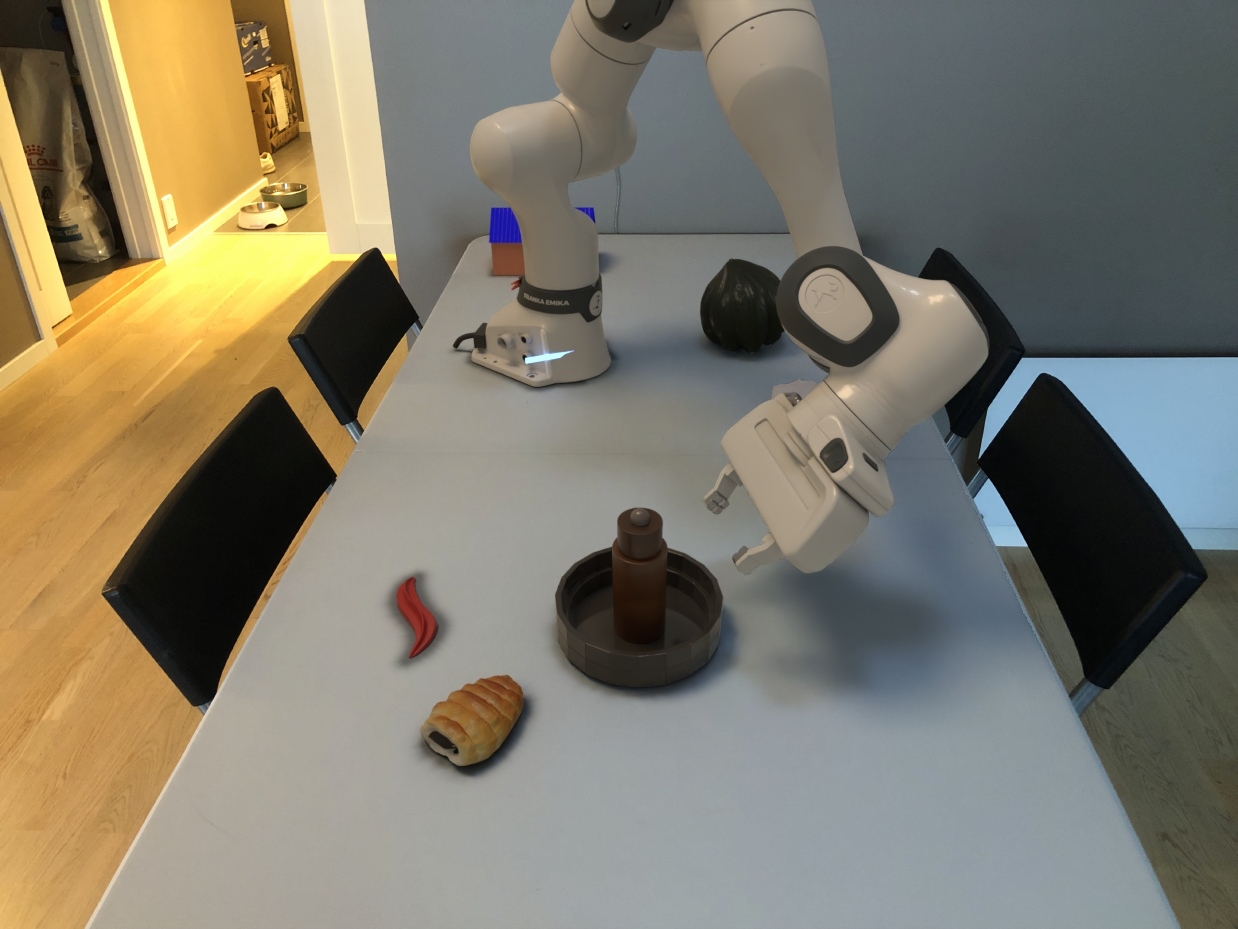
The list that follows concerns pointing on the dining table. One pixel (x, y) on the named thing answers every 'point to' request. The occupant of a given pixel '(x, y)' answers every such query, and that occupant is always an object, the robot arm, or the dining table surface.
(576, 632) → the pan
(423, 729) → the pastry
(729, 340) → the squash
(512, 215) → the house
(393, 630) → the dining table surface
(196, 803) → the dining table surface
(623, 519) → the pepper mill
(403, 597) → the cayenne pepper
